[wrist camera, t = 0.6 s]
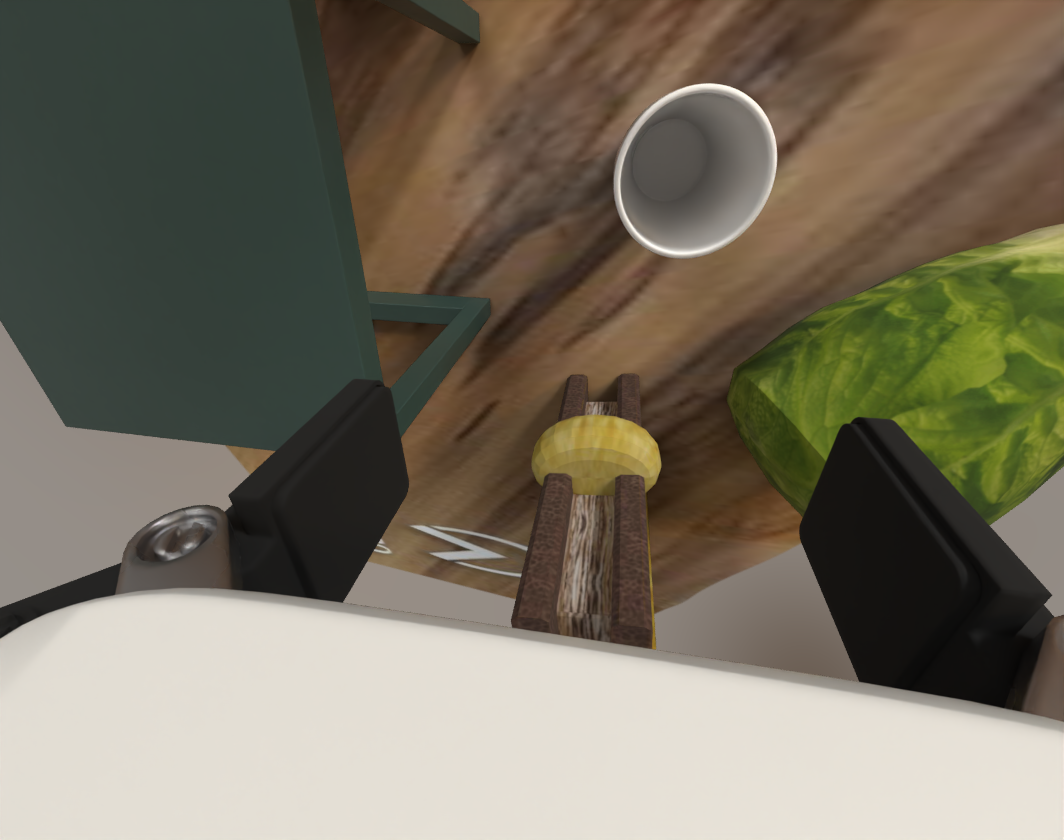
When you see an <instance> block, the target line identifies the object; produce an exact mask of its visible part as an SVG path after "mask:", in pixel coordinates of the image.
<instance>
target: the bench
mask: <svg viewBox="0 0 1064 840" xmlns="http://www.w3.org/2000/svg"><path fill="white" fill-rule="evenodd" d="M377 1H379V2H381V3H383V4H384V5H386V6H388V7H390V8H392V9H394V10H396V11H398V12H400V13H402V14H404V15H405V16H407V17H409V18H411V19H413V20H415V21H417V22H419V23H421V24H423V25H425V26H427V27H428V28H430V29H432V30H434V31H436V32H438V33H440V34H442V35H444V36H446V37H448V38H449V39H451V40H453V41H455V42H457V43H480V32H479V14H478V13H477V12H476V11H475V10H473V9H472V8H471V7H470V6H468V5H467V4H466V3H465V2H463V1H462V0H377ZM490 315H491V312H490V299H489V298H471V297H455V296H439V295H423V294H407V293H391V292H375V291H367V289H366V283H365V278H364V272H363V267H362V261H361V255H360V250H359V244H358V239H357V233H356V228H355V222H354V216H353V211H352V205H351V200H350V194H349V189H348V183H347V177H346V172H345V166H344V161H343V155H342V149H341V144H340V138H339V133H338V127H337V122H336V116H335V110H334V105H333V99H332V94H331V88H330V83H329V77H328V71H327V66H326V60H325V55H324V49H323V44H322V38H321V32H320V27H319V21H318V16H317V10H316V5H315V0H0V321H1V322H2V324H3V326H4V327H5V329H6V331H7V332H8V334H9V335H10V337H11V338H12V340H13V342H14V343H15V345H16V346H17V348H18V350H19V352H20V353H21V355H22V356H23V358H24V360H25V361H26V363H27V364H28V366H29V368H30V369H31V371H32V372H33V374H34V376H35V377H36V379H37V381H38V382H39V384H40V386H41V387H42V389H43V390H44V392H45V394H46V395H47V397H48V398H49V400H50V401H51V403H52V405H53V406H54V408H55V410H56V411H57V413H58V415H59V416H60V418H61V419H62V421H63V423H64V424H65V426H67V427H75V428H83V429H92V430H100V431H109V432H118V433H126V434H135V435H143V436H152V437H160V438H169V439H178V440H187V441H195V442H203V443H212V444H221V445H229V446H238V447H246V448H255V449H263V450H272V451H276V450H278V449H279V448H280V447H281V446H282V445H283V444H284V443H285V442H286V441H287V440H288V439H289V438H290V437H291V436H293V435H294V434H295V433H296V432H297V431H298V430H299V429H300V428H301V427H302V426H303V425H304V424H305V423H307V422H308V421H309V420H310V419H311V418H312V417H313V416H314V415H315V414H316V413H317V412H318V411H319V410H320V409H322V408H323V407H324V406H325V405H326V404H327V403H328V402H329V401H330V400H331V399H332V398H333V397H334V396H336V395H337V394H338V393H339V392H340V391H341V390H342V389H343V388H344V387H345V386H346V385H347V384H348V383H349V382H351V381H352V380H353V379H368V380H380V381H381V382H383V378H382V372H381V367H380V361H379V356H378V350H377V345H376V339H375V333H374V328H373V322H372V319H373V320H387V321H401V322H415V323H429V324H443V325H448V326H447V327H446V328H445V329H444V330H443V331H442V332H441V333H440V334H439V336H438V337H437V338H436V339H435V340H434V341H433V342H432V343H431V344H430V345H429V347H428V348H427V349H426V350H425V351H424V352H423V353H422V354H421V355H420V356H419V357H418V359H417V360H416V361H415V362H414V363H413V364H412V365H411V366H410V367H409V368H408V369H407V371H406V372H405V373H404V374H403V375H402V376H401V377H400V378H399V379H398V380H397V382H396V383H395V384H394V385H393V386H392V387H391V388H390V390H391V392H392V396H393V401H394V407H395V412H396V417H397V422H398V427H399V432H400V438H401V437H402V435H403V434H404V433H405V431H406V430H407V429H408V427H409V426H410V425H411V423H412V422H413V420H414V419H415V418H416V416H417V415H418V414H419V412H420V411H421V410H422V408H423V407H424V405H425V404H426V403H427V401H428V400H429V399H430V397H431V396H432V394H433V393H434V392H435V390H436V389H437V388H438V386H439V385H440V384H441V382H442V381H443V379H444V378H445V377H446V375H447V374H448V373H449V371H450V370H451V369H452V367H453V366H454V364H455V363H456V362H457V360H458V359H459V358H460V356H461V355H462V354H463V352H464V351H465V349H466V348H467V347H468V345H469V344H470V343H471V341H472V340H473V339H474V337H475V336H476V334H477V333H478V332H479V330H480V329H481V328H482V326H483V325H484V324H485V322H486V321H487V319H488V318H489V317H490Z"/></svg>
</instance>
